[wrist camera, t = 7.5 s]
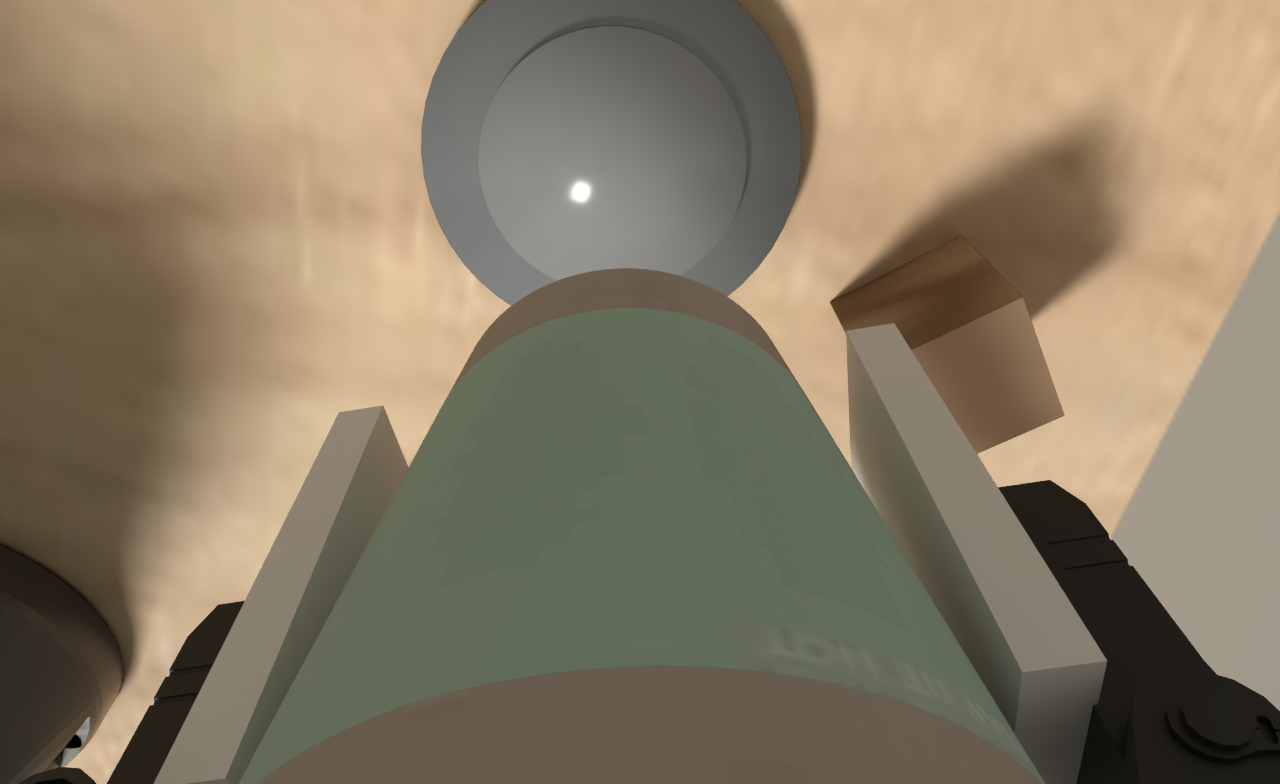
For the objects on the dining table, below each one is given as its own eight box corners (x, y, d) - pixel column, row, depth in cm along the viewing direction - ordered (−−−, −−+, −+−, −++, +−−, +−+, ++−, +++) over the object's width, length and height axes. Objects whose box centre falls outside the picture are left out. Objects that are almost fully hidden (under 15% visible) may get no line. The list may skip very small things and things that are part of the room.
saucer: (483, 349, 30) (480, 364, 29) (371, -4, 24) (362, 1, 23) (807, 293, 29) (814, 307, 28) (782, -86, 23) (789, -84, 22)
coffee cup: (507, 632, 17) (361, 1715, 7) (277, 289, 13) (-970, 1855, 3) (907, 521, 16) (1431, 1659, 6) (805, 93, 11) (2267, 1749, 1)
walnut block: (878, 399, 32) (920, 478, 28) (829, 301, 30) (867, 371, 25) (1001, 341, 31) (1064, 415, 27) (960, 234, 28) (1022, 297, 24)
